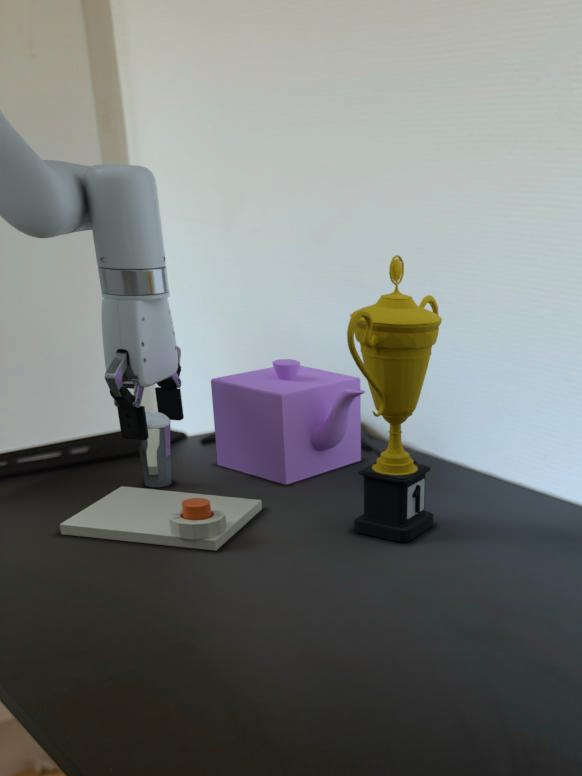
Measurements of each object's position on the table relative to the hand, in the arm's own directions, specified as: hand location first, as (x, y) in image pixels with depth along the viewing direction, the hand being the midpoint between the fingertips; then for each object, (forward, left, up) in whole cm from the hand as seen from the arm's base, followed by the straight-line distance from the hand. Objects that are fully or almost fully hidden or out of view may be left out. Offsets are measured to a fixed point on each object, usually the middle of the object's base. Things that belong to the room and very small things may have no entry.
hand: (154, 428), depth 116 cm
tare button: (+13, -17, -5) cm, 21 cm away
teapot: (+14, +14, -8) cm, 21 cm away
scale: (+7, -12, -7) cm, 16 cm away
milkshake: (0, 0, -8) cm, 8 cm away
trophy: (+33, -7, -8) cm, 34 cm away
